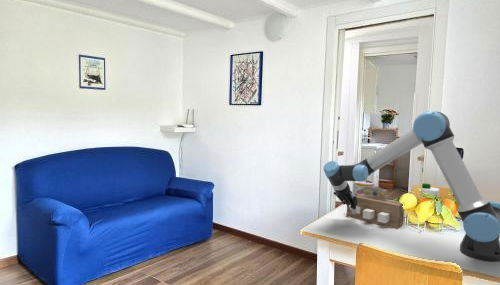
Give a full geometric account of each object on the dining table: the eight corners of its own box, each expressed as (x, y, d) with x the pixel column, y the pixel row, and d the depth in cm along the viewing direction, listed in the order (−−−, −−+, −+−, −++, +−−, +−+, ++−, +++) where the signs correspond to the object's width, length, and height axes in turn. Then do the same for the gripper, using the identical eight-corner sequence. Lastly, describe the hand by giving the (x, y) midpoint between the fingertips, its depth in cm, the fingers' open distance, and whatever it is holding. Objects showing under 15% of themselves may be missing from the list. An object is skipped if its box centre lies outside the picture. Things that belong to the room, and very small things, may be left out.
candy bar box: (352, 209, 210) (353, 182, 208) (353, 207, 214) (354, 180, 213) (371, 212, 205) (373, 184, 204) (372, 210, 210) (374, 183, 208)
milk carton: (420, 217, 198) (423, 182, 196) (438, 220, 193) (441, 184, 191) (417, 220, 191) (420, 184, 189) (435, 224, 186) (438, 187, 184)
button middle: (369, 219, 181) (370, 212, 181) (362, 217, 184) (363, 210, 184) (375, 217, 185) (375, 209, 185) (367, 215, 188) (368, 208, 188)
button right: (385, 223, 176) (385, 215, 175) (377, 221, 178) (377, 213, 178) (390, 220, 180) (390, 213, 180) (382, 219, 183) (382, 211, 182)
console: (396, 229, 177) (399, 194, 175) (346, 216, 196) (348, 184, 194) (402, 225, 182) (405, 191, 181) (353, 213, 202) (355, 182, 200)
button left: (359, 214, 190) (360, 206, 190) (353, 212, 193) (353, 205, 193) (365, 212, 195) (365, 204, 194) (358, 210, 197) (358, 203, 197)
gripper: (326, 188, 179) (341, 214, 193) (349, 193, 170) (363, 220, 184) (332, 177, 182) (346, 203, 196) (355, 181, 173) (368, 208, 187)
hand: (354, 211), depth 190 cm, fingers closed
